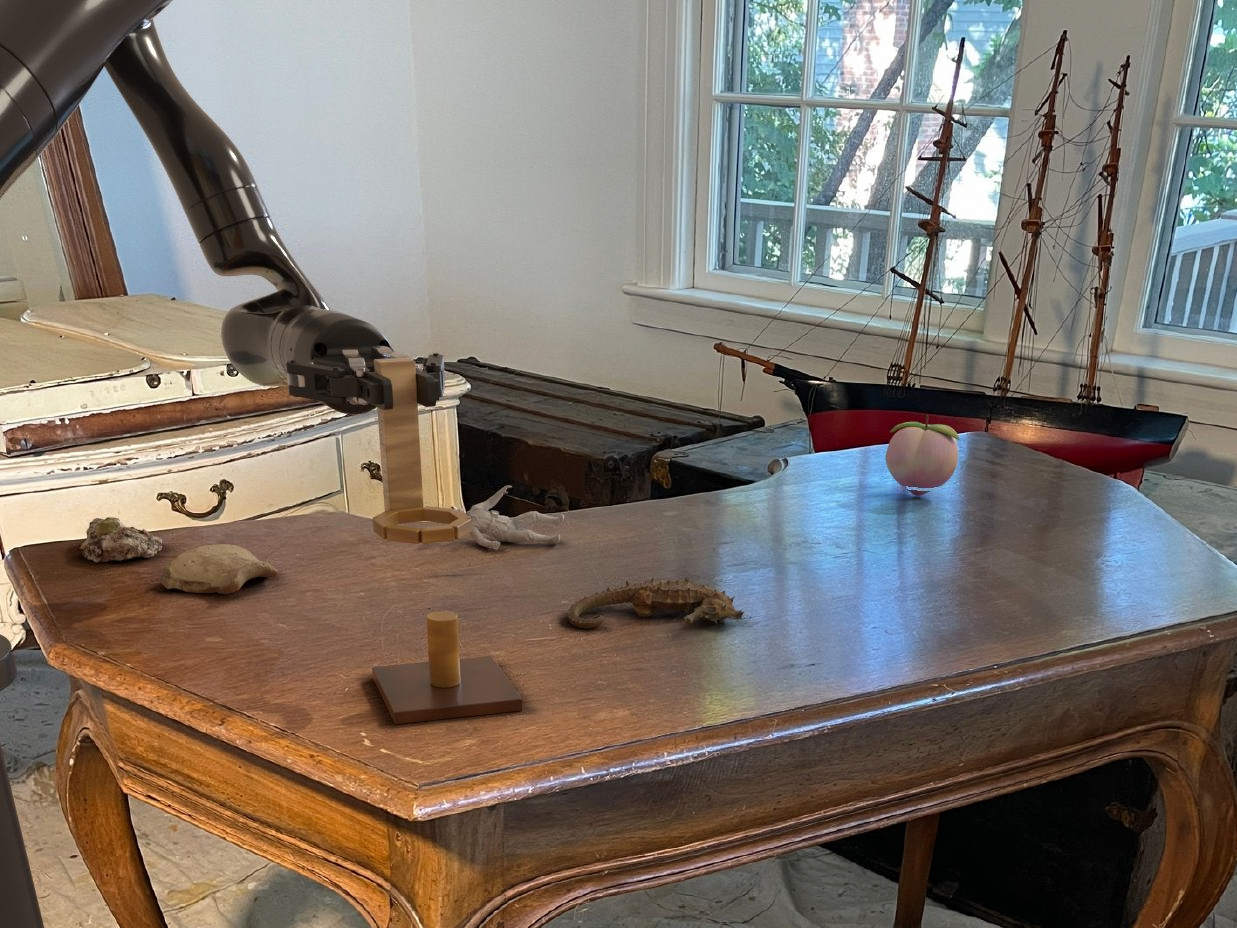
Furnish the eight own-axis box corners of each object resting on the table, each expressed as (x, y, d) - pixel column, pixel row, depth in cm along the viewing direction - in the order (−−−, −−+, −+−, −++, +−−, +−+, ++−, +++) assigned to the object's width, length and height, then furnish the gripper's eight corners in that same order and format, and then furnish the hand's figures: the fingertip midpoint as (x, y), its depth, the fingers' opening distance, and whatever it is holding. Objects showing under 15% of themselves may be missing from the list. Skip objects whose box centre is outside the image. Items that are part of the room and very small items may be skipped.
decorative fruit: (960, 493, 170) (972, 414, 165) (946, 506, 163) (957, 424, 158) (890, 484, 173) (900, 406, 168) (873, 497, 166) (883, 416, 161)
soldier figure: (555, 562, 140) (447, 528, 137) (544, 582, 144) (439, 549, 141) (568, 500, 142) (462, 465, 139) (557, 521, 147) (453, 487, 143)
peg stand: (394, 724, 98) (388, 642, 95) (372, 678, 106) (366, 601, 103) (522, 710, 101) (521, 631, 98) (491, 666, 109) (489, 591, 106)
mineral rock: (178, 534, 133) (96, 523, 127) (173, 577, 134) (92, 567, 129) (143, 515, 140) (65, 503, 135) (138, 555, 141) (61, 545, 136)
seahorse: (576, 597, 126) (576, 566, 125) (742, 605, 126) (744, 574, 124) (564, 629, 118) (564, 596, 117) (742, 638, 118) (744, 605, 116)
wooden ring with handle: (483, 537, 100) (477, 373, 94) (393, 547, 97) (381, 378, 91) (443, 511, 107) (435, 356, 101) (358, 519, 104) (345, 360, 98)
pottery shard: (156, 603, 125) (226, 596, 120) (144, 557, 124) (213, 548, 118) (241, 582, 134) (309, 575, 128) (230, 539, 132) (299, 530, 127)
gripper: (248, 315, 105) (314, 344, 93) (411, 310, 112) (494, 337, 99) (259, 411, 109) (324, 452, 96) (416, 401, 115) (497, 438, 103)
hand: (410, 393), depth 98 cm, fingers closed on wooden ring with handle, 3 cm apart
